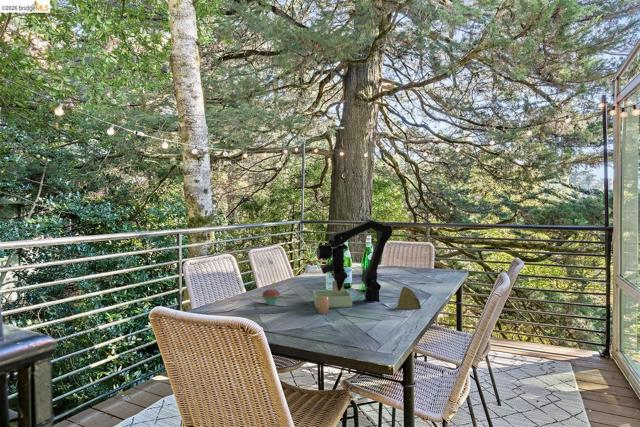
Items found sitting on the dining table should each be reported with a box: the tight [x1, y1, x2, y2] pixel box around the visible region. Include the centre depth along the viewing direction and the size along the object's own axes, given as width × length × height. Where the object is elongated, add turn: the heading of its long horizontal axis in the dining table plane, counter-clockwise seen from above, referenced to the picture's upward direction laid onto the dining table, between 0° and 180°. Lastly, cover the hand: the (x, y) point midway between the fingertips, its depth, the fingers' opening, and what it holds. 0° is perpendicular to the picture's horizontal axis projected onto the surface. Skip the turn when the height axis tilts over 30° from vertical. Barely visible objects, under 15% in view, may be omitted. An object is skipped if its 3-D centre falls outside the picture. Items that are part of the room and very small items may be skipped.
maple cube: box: [332, 280, 345, 293], centre depth 200 cm, size 5×5×5 cm
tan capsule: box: [317, 296, 330, 315], centre depth 186 cm, size 5×5×7 cm
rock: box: [396, 286, 422, 310], centre depth 191 cm, size 11×9×10 cm
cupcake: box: [261, 280, 281, 306], centre depth 201 cm, size 9×8×12 cm
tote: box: [312, 289, 353, 309], centre depth 200 cm, size 18×14×5 cm
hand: (338, 289), depth 201 cm, fingers closed on maple cube, 5 cm apart
